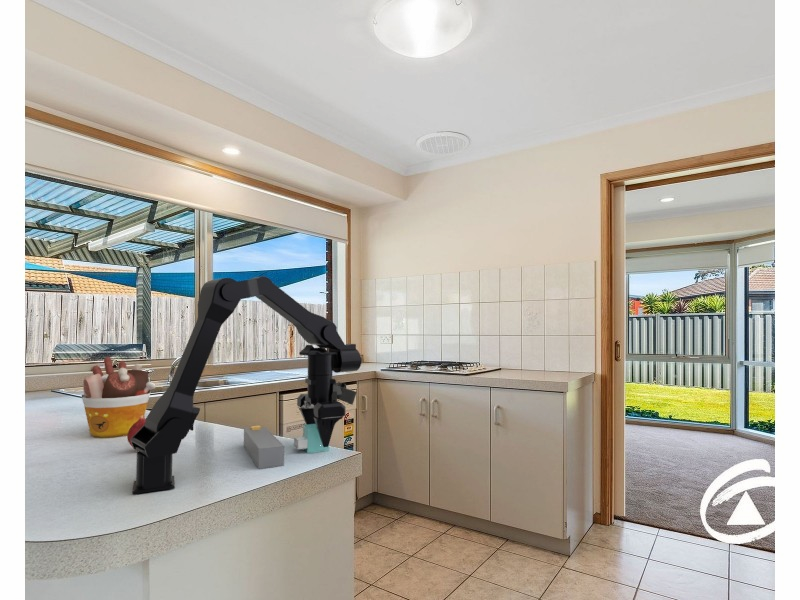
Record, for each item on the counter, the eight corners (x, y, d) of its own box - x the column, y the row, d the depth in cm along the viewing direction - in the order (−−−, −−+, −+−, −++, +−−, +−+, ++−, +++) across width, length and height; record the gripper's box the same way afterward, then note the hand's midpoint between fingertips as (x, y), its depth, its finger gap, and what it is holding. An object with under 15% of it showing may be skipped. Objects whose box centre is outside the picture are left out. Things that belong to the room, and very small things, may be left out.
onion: (159, 450, 108) (160, 415, 108) (132, 456, 104) (133, 419, 104) (150, 446, 112) (151, 412, 112) (123, 451, 108) (124, 415, 108)
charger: (329, 450, 108) (329, 426, 108) (298, 454, 105) (298, 429, 105) (323, 446, 112) (323, 422, 112) (293, 450, 108) (294, 425, 109)
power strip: (284, 465, 96) (284, 442, 97) (258, 469, 94) (259, 445, 94) (262, 439, 118) (262, 420, 119) (240, 441, 116) (241, 422, 116)
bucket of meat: (161, 433, 125) (163, 358, 126) (88, 445, 113) (91, 361, 114) (137, 422, 139) (139, 355, 140) (70, 432, 127) (72, 357, 128)
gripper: (367, 376, 105) (367, 447, 104) (339, 369, 122) (339, 430, 121) (319, 379, 100) (318, 453, 99) (296, 371, 117) (296, 435, 116)
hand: (319, 442), depth 109 cm, fingers open, 9 cm apart
